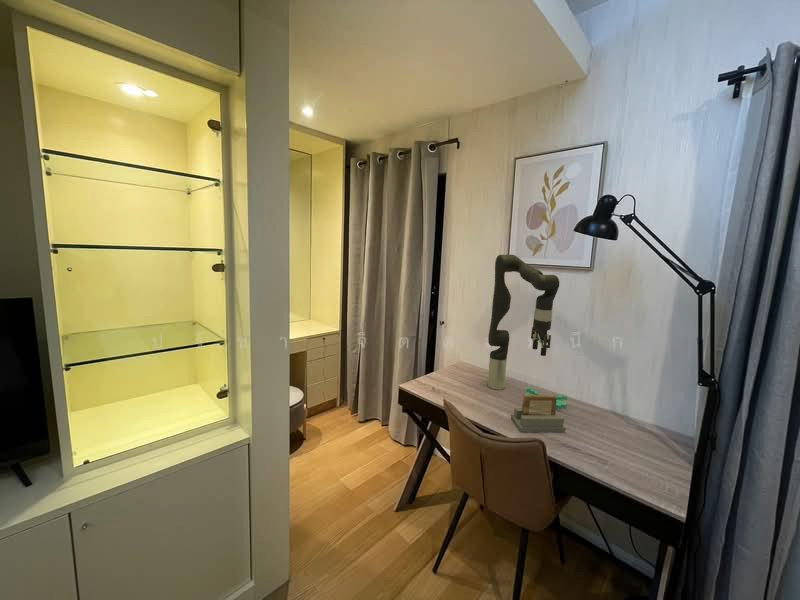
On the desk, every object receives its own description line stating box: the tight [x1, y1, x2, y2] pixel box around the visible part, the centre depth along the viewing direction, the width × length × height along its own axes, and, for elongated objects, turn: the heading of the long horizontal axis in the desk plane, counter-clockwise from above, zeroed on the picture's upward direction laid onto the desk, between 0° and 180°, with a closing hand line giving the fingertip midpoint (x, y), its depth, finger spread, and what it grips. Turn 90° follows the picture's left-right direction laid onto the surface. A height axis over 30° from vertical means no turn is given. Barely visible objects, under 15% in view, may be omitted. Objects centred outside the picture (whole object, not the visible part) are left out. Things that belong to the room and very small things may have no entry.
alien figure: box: [524, 386, 568, 411], centre depth 177 cm, size 20×2×20 cm
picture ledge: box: [510, 407, 567, 433], centre depth 152 cm, size 11×20×6 cm, turn 93°
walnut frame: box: [521, 394, 557, 415], centre depth 151 cm, size 3×14×12 cm, turn 93°
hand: (538, 352), depth 157 cm, fingers open, 8 cm apart
